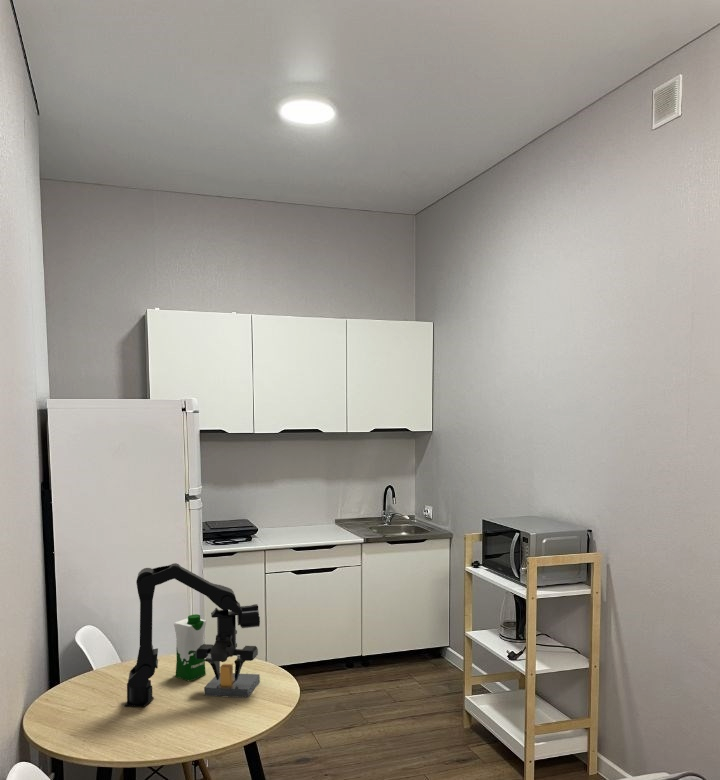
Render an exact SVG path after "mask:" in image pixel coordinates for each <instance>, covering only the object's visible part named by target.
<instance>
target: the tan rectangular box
mask: <svg viewBox="0 0 720 780" xmlns="http://www.w3.org/2000/svg"><path fill="white" fill-rule="evenodd" d="M233 665H234V664H233V663H222V664H221V665H220V680H221V686H232V684H233V673H234V669H233V668H234V667H233Z"/></svg>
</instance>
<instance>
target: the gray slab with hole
mask: <svg viewBox="0 0 720 780" xmlns="http://www.w3.org/2000/svg"><path fill="white" fill-rule="evenodd" d="M260 682H261V675H260V673H259V674H257V673H239V676H238V679H237V681H235V672H233V684H232V686H221V680H220V677H219V680H217V679H216V676H215V675H214V676H213V677H212V679H211V680H210V681H208V683H207V684H206V685H205V686H204V687H203V688H204V690H203V694H204V696H207V697H222V696H228V697H227V698H245V699H246V698H247V699H248V698H249V696H251V694H252V693H253V692H254V690H255V689H256V688H257V687H258V685H259V684H260Z"/></svg>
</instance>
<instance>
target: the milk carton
mask: <svg viewBox="0 0 720 780" xmlns="http://www.w3.org/2000/svg"><path fill="white" fill-rule="evenodd" d="M206 625H207V620H206V619H202V618H201V615H200V614H191V615H188V617H187V618H183V619H181V620H178V621H175V622H173V626H174V631H175V639H176V640H175V641H176V643H175V644H176V648H175V649H176V651H175V652H176V665H175V676H174V677H175V678H178V679H180V680H181V679H182V680H185V681H188V682H191V681H193V680H196V679H199V678H200V677H203V676H205V675H206V674H207V673H206V672H207V671H206V661H205V659H206V658H205V659H196V650H197V649H198V648H199V647H200V646H202V645H203V644H205V631H206Z"/></svg>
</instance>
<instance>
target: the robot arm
mask: <svg viewBox="0 0 720 780" xmlns="http://www.w3.org/2000/svg"><path fill="white" fill-rule="evenodd" d="M171 580H176V581H178V582H180V583H181V584H183V585H186V586H187V587H189V588H191V589H192V590H194V591H196V592H198V593H200V594H202V595H204V596H206V597H207V599H209V600H210V601H211V602H212V603H213V604H215V606H217V607H215V608H214V609H213V611H212V612H210V614H211V615H210V617H211V618H212V619H213V618H216V620H217V621H216V627H217V628H216V629H217V630H216V631H217V633H216V635H215V642H214V644H210V643H209V644H207V643H204V644H203V645H202V646H200V647H199V648H198V649H197V650H196V659H205V663H206V662H207V663H208V664H210V666H211V668H212V670H213V673H214V677H215V676H216V679H217V680H219V677H220V667H221V663H224V662H226V661H227V660H228V658H232V657H234V656H235V657H236V659H235V660H234V664H235V666H234V673H235V681H237V679H238V676H239V674H241V670H242V667H243V665H244V663H245V662H246V661H247V662H251V661H255V659H256V658H257V656H258V654H259V648H258V647H257V646H256V645H245V646H244V647H242V649H241V648H237V647H238V642H237V634H238V630H237V628H236V621H237V626H240V628H241V629H249V628H258V627H260V624H261V619H260V618H261V617H260V612H259V605H258V604H251V605H243V606H241V604H240V602H239V601H238V600H237V598H236V594H235V591H234V590H233V589H232V588H231V587H227V586H224V585H221V584H217V583H213V582H210V581H209V580H207V579H205V578H203V577H201V576H199V575H197V574H195V573H194V572H192V571H190V570H188V569H186V568H185V567H183V566H181V565H180V564H179V563H176V562H175V563H171V564H169V565H164V566H163V565H162V566H158V567H154V568H152V567H145V568H142V569H141V570H140V571H139V572H138V574H137V577H136V581H135V582H136V588H137V594H138V599H139V649H138V651H137V652H138V653H137V659H136V664H135V665H134V666H133V667H132V668H131V670H130V671H129V673H128V674H129V675H128V680H127V682H126V702H125V703H124V704H123V705H124V707H133V708H134V707H135V708H144V707H146V706H147V705H148V704H150V702H151V701H153V700H154V699H155V698H154V696H153V685H152V680H151V679H150V678H153V676H154V675H155V672H156V669H158V667H159V665H158V664H159V659H158V653H159V648H154V646H153V613H154V612H153V609H154V608H153V603H154V602H153V598H154V595H155V588H156V586H159V585H161V584H163V583H166V582H169V581H171ZM218 608H219V609H218Z"/></svg>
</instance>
